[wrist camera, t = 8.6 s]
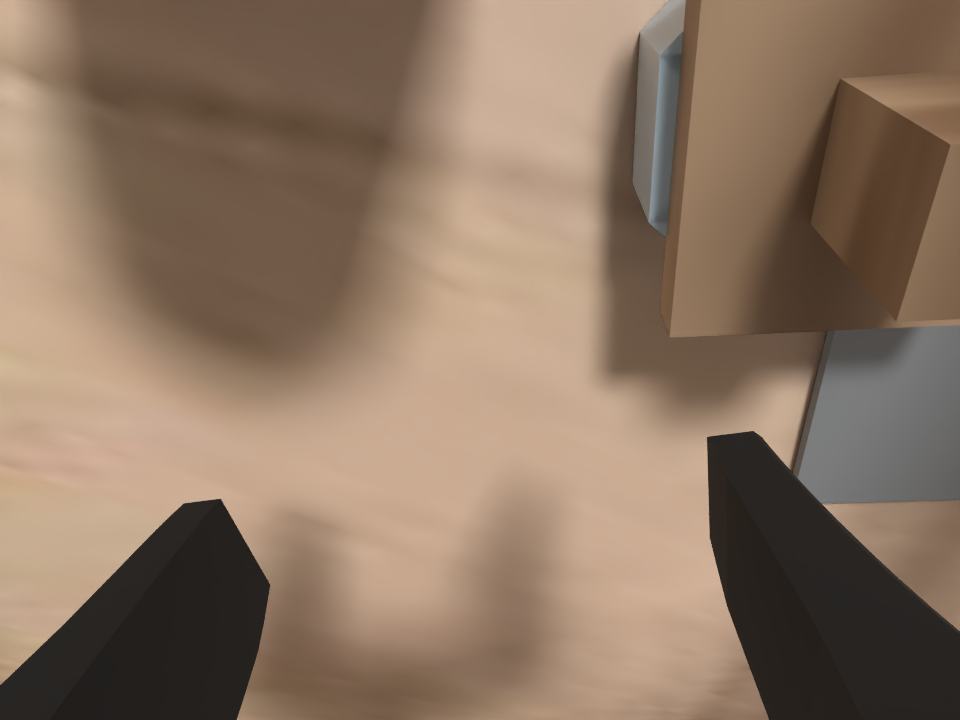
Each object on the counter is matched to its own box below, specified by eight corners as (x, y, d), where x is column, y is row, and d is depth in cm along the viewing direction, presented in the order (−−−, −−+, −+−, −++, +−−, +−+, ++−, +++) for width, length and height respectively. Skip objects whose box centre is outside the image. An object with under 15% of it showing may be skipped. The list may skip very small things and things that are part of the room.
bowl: (1083, -139, 14) (1185, -142, 12) (951, 254, 18) (1007, 301, 16) (646, -100, 14) (669, -97, 12) (627, 270, 19) (642, 317, 17)
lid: (1178, -124, 12) (1543, -127, 8) (1010, 294, 16) (1181, 435, 12) (692, -83, 12) (785, -64, 8) (660, 310, 17) (709, 451, 13)
